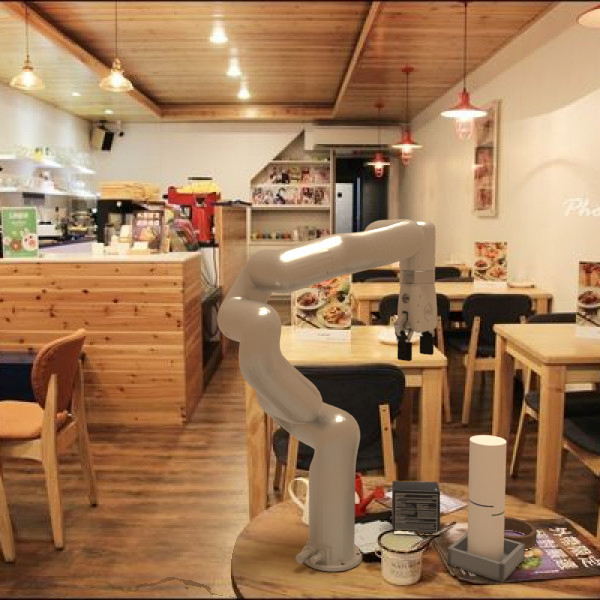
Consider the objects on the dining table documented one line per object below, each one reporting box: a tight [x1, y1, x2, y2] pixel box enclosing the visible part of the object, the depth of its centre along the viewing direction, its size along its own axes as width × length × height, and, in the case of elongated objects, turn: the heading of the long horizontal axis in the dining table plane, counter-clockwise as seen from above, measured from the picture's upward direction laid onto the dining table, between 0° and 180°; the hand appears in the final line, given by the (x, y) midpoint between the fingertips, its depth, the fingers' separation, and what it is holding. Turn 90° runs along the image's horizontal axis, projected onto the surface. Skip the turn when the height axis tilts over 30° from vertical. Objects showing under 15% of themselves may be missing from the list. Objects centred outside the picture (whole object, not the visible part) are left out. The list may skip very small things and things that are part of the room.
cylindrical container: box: [467, 434, 507, 562], centre depth 138 cm, size 7×7×25 cm
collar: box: [504, 516, 538, 549], centre depth 149 cm, size 11×11×3 cm
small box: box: [391, 480, 441, 534], centre depth 154 cm, size 11×6×10 cm, turn 84°
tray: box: [446, 531, 526, 583], centre depth 139 cm, size 12×12×4 cm
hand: (415, 357), depth 148 cm, fingers open, 9 cm apart
